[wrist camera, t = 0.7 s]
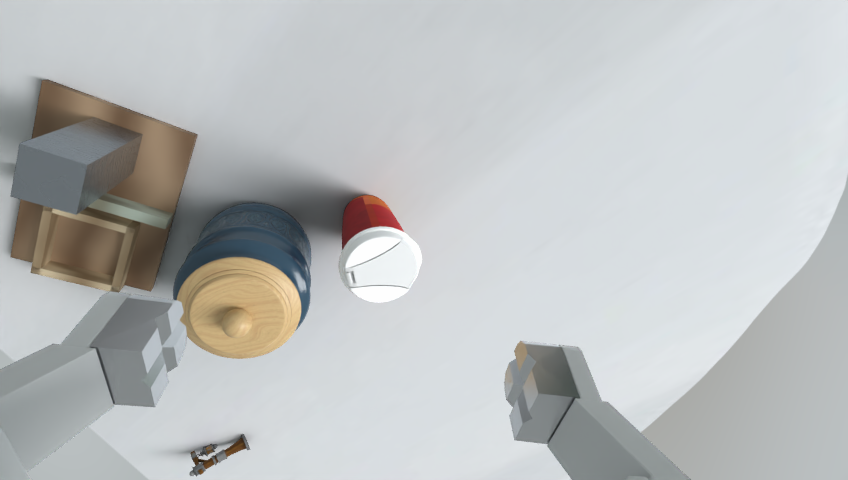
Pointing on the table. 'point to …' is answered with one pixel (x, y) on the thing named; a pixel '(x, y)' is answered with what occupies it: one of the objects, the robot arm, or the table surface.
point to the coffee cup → (376, 252)
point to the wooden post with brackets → (218, 457)
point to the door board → (107, 202)
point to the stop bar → (75, 164)
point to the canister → (245, 282)
